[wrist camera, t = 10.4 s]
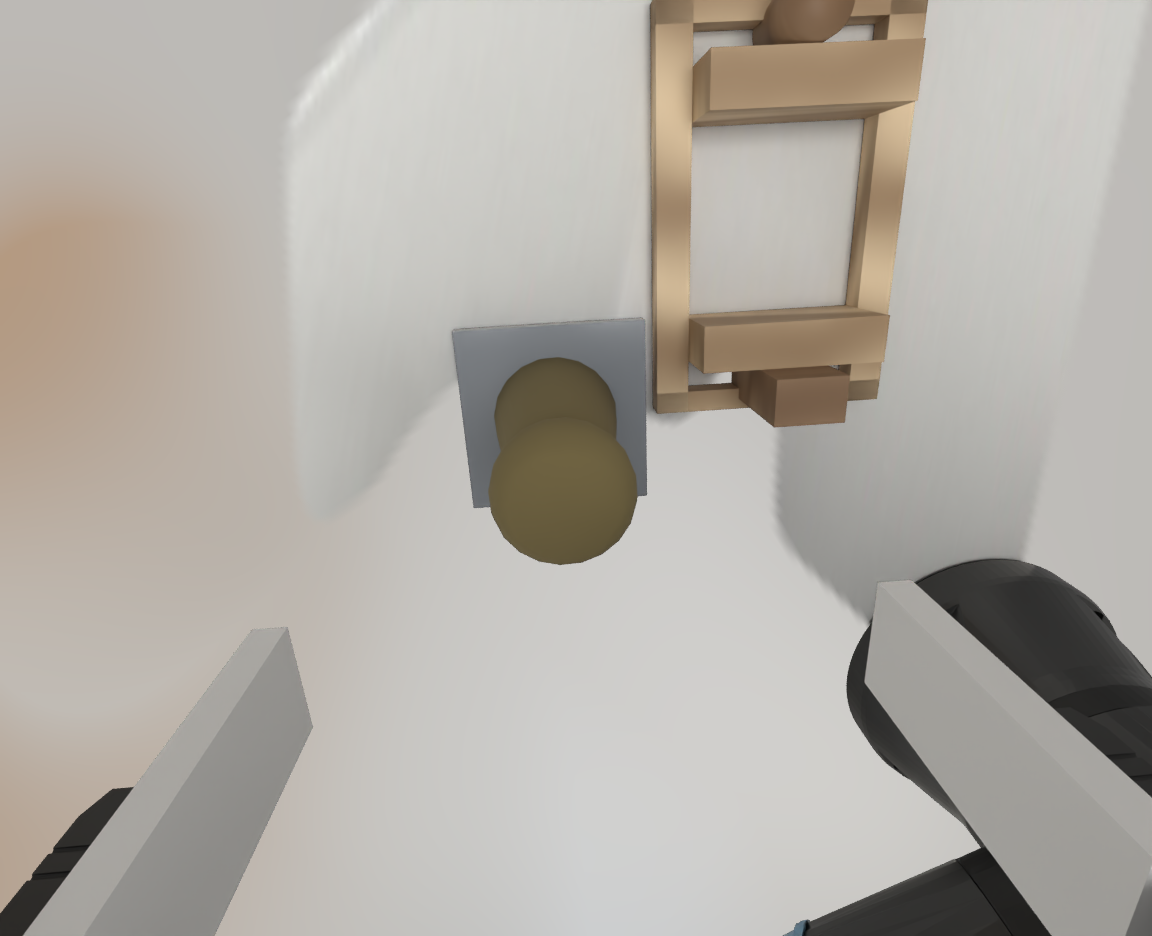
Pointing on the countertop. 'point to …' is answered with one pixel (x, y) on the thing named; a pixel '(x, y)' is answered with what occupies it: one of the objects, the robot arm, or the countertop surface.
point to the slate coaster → (508, 348)
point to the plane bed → (779, 95)
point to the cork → (560, 464)
